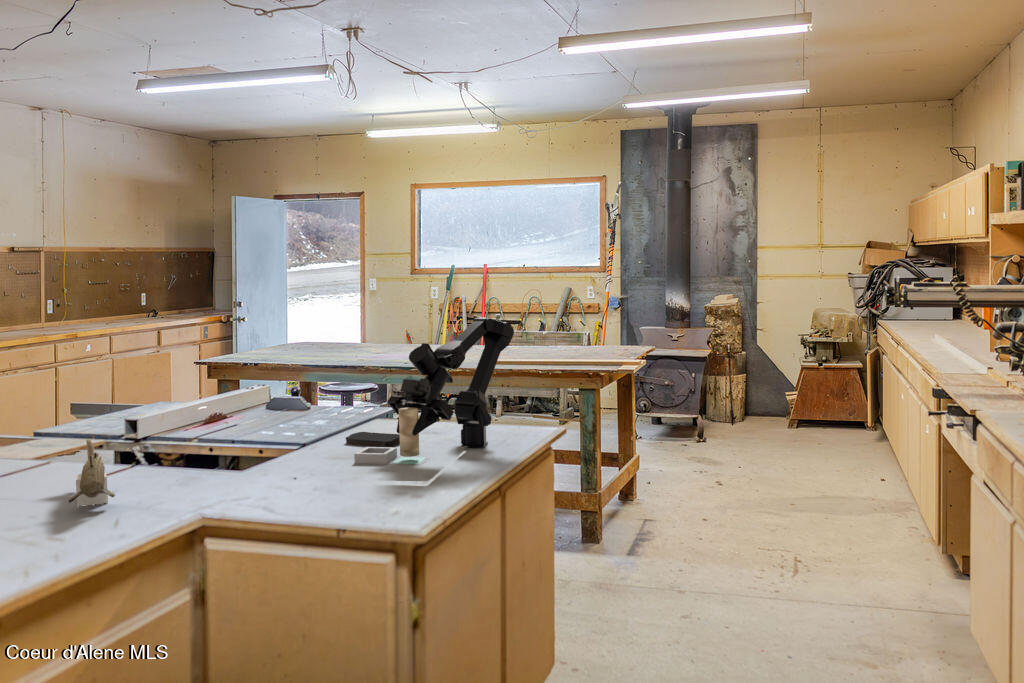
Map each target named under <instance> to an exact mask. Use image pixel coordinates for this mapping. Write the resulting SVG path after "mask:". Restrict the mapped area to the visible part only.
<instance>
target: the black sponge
mask: <svg viewBox="0 0 1024 683" xmlns="http://www.w3.org/2000/svg"><path fill="white" fill-rule="evenodd" d="M345 441H346V442H345V444H346V445H350V446H351V445H352V446H362V447H395V446H400V435H399V434H398V433H381V432H369V431H360V432H359V431H358V432H354V433H351V434H349V435H348V436H346V437H345Z"/></svg>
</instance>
